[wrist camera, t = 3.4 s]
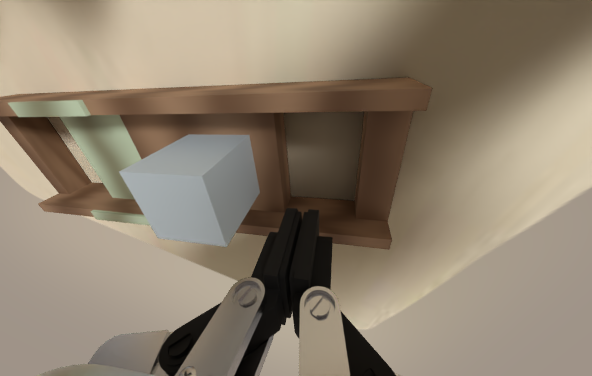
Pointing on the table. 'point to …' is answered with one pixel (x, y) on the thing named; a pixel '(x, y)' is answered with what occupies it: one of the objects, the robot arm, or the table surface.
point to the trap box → (219, 121)
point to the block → (196, 187)
